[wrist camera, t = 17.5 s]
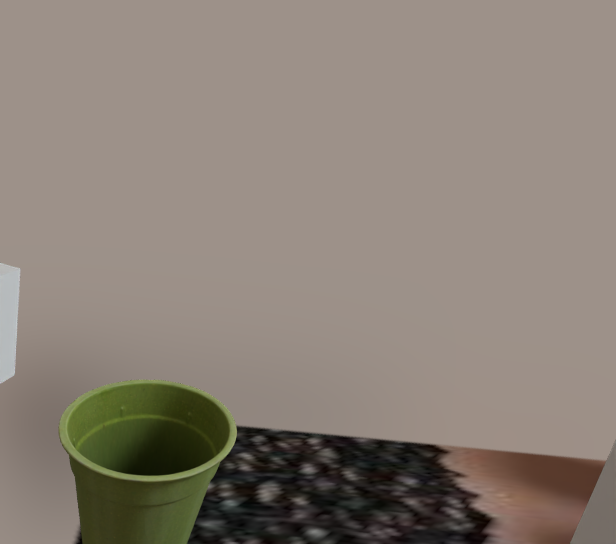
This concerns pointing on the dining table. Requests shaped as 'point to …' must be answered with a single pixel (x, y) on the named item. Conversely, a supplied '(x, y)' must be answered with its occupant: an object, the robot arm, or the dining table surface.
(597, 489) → the robot arm
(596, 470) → the dining table surface
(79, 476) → the plant pot
